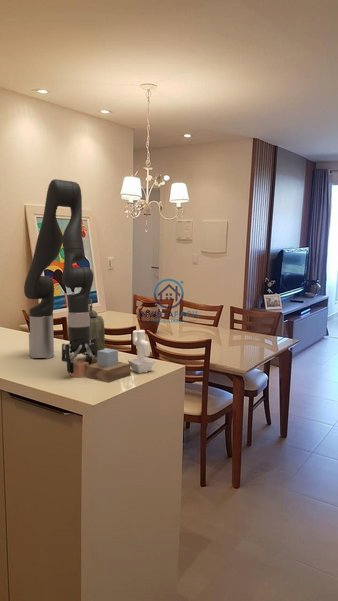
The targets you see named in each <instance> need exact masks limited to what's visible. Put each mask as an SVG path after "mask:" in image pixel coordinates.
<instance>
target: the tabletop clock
mask: <svg viewBox="0 0 338 601" xmlns="http://www.w3.org/2000/svg"><path fill="white" fill-rule="evenodd" d="M89 316H90V338H93V339H96V348H97V351H99V350H104V349H106V348H105V347H106V344H105V343H106V342H105V341H106V340H105V339H106V337H105V320H104V318H103V316H102V315H98V313H97V311H96V310H94V309H93V299H92V298H89ZM90 338H89V339H90ZM88 347H89V346H88ZM80 355H83V356H85V357H84V359H83V361H84V362H86V358H87V357H86V355H85V354H84V353H81V354H80ZM93 358H94V359H97V354H96V355H94V356H93Z"/></svg>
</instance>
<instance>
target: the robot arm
mask: <svg viewBox="0 0 338 601" xmlns="http://www.w3.org/2000/svg"><path fill="white" fill-rule="evenodd" d="M82 200H83V198H82V189H81V186H80V184H79V183H77V182H76V181H73V180H72V181H71V180H64V179H52V180H51V181H50V182H49V184H48V188H47V191H46V198H45V204H44V209H43V216H42V221H41V224H40V229H39V231H38V232H39V233H38V235H37V240H36V243H35V248H34V252H33V256H32V261H31V264H30V266H29V270H28V272H27V275H26V278H25V281H24V285H23V286H24V287H23V292H24V295H25V297H26V298H27V299H29V300H41V301H40V302H39V303H38V304H36V305H35V306H33V307H31V308H30V309H29V313H28V314H29V333H28V348H29V349H28V350H29V357H30V356H31V357H32V358H31V357H30V358H31V359H33V358H47V359H51V357H52V358H53V357H55V350H54V349H55V348H54V347H55V346H54V345H55V343H54V342H55V340H54V338H55V336H54V335H55V334H54V306H55V302H54V301H55V299H54V298H55V282H54V280H53V278H52V277H51V276H49V275H42V274H43V273H44V272H45V270H46V269H47V268H48V267H49V266H50V265H51V264H52V263H54V262H55V260H56V259H57V258H58V257H59V255H60V253H61V250H62V249H63V257H64V258H63V267H62V268H63V270H62V274H61V281H62V283H63V285H64V286H65V287H66V288H69V289H74V288H75V289H76V288H77V289H78V288H80V291H79V292H77V293H75V294H72V295H69V296H68V298H67V299H68V300H67V304H68V305H67V306H68V307H67V308H68V311H67V312H68V314H67V315H68V316H67V337H68V340H69V343H62V344H61V361H62V362H65V363H66V371H67V373H69V374H70V373H74V363H73V362H75V359H76V358H77V356H78V355H82V354H81V353H84V354H85V355H84V356H85V358H86V357H87V358H86V362H88V363H89V365H90V364H93V358H94V355H96V354H97V348H96V339H93V338H90V316H89V299H90V295H91V290H92V287H93V282H94V272H93V270H92V269H91V268H90V267H88V266H81V267H80V266H79V267H78V266H74V264H76V263H80V262H83V261H84V260H85V257H86V254H85V246H84V241H83V233H82V232H83V229H82V219H83V215H82V214H83V209H82V208H83V204H82V203H83V201H82ZM58 207H62V208H69V209H70V219H69V222H68V223H67V225H66V227H65V229H64V232H62V230H61V228H60V224H59V222H58V219H57V210H58ZM89 338H90V339H89ZM88 346H89V347H88Z"/></svg>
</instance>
